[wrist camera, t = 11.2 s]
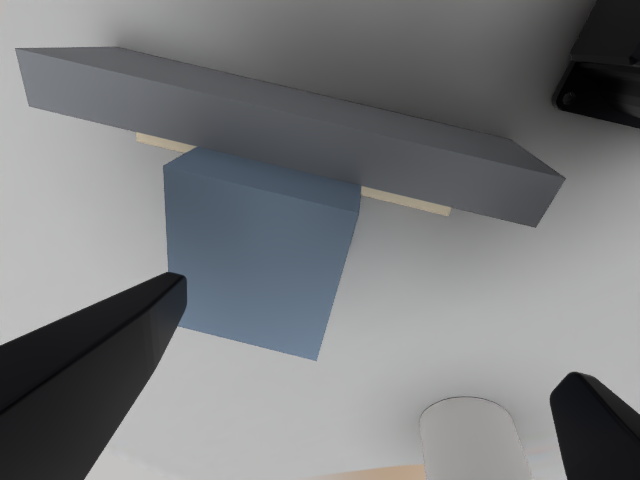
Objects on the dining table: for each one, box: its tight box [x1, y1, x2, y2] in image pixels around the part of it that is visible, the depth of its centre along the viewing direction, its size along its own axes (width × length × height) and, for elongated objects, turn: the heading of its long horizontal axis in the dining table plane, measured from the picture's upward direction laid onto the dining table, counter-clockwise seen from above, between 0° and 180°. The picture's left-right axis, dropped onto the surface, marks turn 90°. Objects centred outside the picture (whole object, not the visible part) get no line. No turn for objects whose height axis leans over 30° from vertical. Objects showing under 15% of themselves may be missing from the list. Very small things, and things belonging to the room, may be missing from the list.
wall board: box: [15, 47, 566, 228], centre depth 15 cm, size 20×4×6 cm, turn 79°
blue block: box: [163, 147, 362, 361], centre depth 16 cm, size 6×8×8 cm
